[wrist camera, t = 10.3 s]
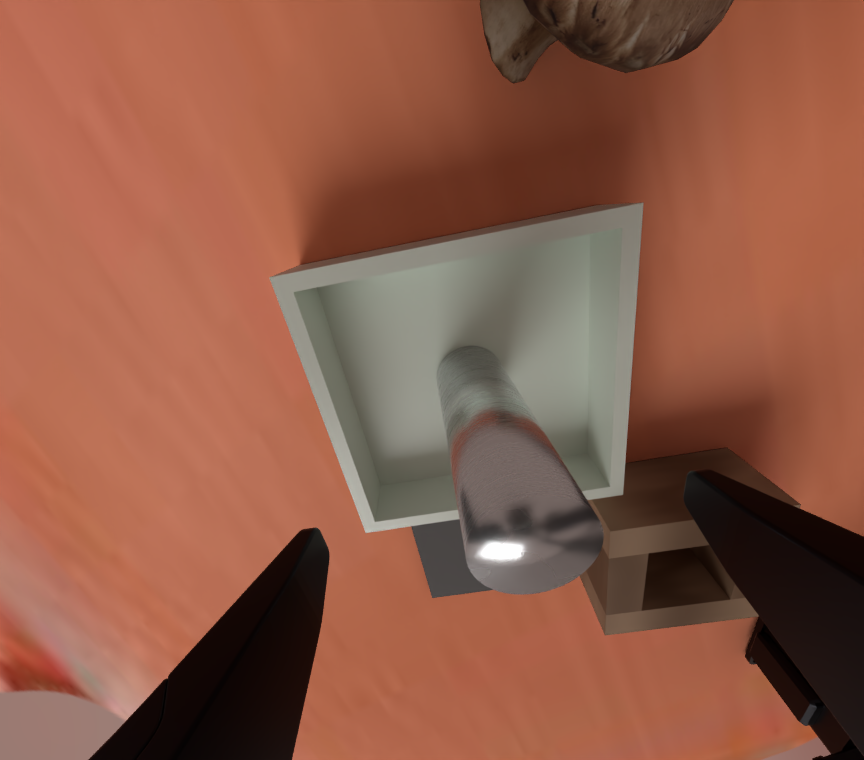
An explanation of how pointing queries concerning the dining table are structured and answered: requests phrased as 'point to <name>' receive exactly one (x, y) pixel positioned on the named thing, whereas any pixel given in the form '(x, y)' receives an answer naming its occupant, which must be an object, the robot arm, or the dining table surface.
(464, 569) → the mat
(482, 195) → the dining table surface
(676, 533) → the brown hollow block
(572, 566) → the pin
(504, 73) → the brown coconut
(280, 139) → the dining table surface
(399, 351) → the tray
